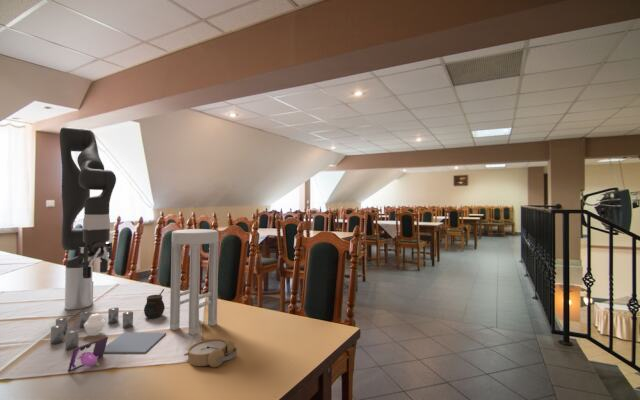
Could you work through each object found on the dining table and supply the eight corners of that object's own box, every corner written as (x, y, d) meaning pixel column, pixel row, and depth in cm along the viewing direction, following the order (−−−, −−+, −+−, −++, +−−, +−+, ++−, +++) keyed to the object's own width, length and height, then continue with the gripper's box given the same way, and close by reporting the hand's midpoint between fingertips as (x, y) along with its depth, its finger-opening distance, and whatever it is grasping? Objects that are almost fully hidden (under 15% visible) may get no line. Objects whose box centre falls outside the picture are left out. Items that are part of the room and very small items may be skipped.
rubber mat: (124, 334, 110) (124, 332, 110) (165, 334, 111) (166, 332, 111) (97, 353, 96) (97, 351, 96) (145, 353, 97) (145, 351, 97)
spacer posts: (81, 320, 122) (82, 307, 122) (140, 320, 122) (140, 307, 122) (25, 350, 97) (25, 333, 97) (98, 350, 98) (98, 333, 98)
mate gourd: (139, 318, 125) (139, 292, 125) (155, 312, 132) (155, 287, 132) (153, 321, 122) (153, 294, 122) (168, 314, 130) (169, 289, 130)
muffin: (96, 338, 107) (97, 316, 107) (78, 337, 107) (79, 316, 107) (109, 330, 113) (110, 310, 113) (92, 330, 113) (92, 310, 113)
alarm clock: (205, 337, 102) (244, 337, 97) (207, 353, 102) (246, 353, 97) (177, 352, 92) (219, 353, 86) (179, 370, 92) (222, 371, 86)
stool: (225, 323, 122) (226, 230, 122) (193, 338, 108) (195, 233, 108) (194, 316, 128) (196, 228, 128) (160, 330, 114) (162, 231, 114)
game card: (105, 335, 94) (71, 347, 85) (117, 344, 92) (83, 358, 84) (100, 355, 95) (66, 369, 86) (111, 364, 93) (77, 380, 84)
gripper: (99, 226, 117) (98, 270, 117) (69, 229, 103) (68, 280, 103) (120, 226, 117) (119, 270, 117) (93, 229, 103) (92, 280, 103)
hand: (95, 275), depth 110 cm, fingers open, 8 cm apart
